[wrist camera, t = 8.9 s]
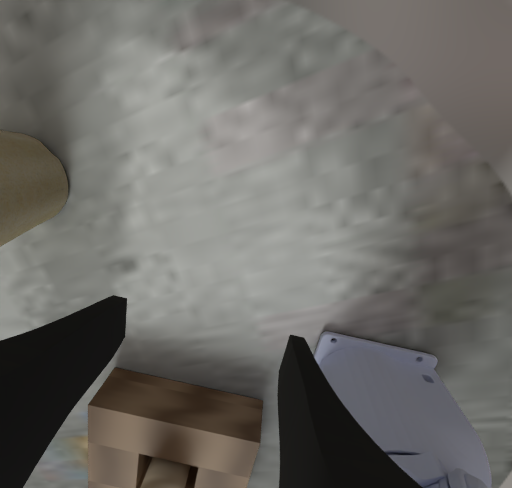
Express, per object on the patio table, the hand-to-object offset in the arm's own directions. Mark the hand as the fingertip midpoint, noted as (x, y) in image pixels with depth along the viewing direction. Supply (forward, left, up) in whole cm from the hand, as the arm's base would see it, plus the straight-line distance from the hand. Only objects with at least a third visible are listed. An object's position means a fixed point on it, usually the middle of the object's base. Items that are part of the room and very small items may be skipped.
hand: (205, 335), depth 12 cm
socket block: (+2, +21, -10) cm, 23 cm away
